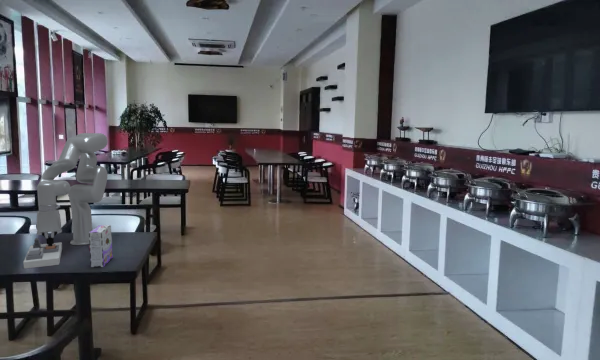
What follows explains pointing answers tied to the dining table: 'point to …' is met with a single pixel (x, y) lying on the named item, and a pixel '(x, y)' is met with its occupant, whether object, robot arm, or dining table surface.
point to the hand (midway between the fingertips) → (50, 245)
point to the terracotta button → (51, 246)
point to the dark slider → (37, 243)
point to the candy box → (100, 245)
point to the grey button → (34, 251)
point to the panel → (44, 257)
